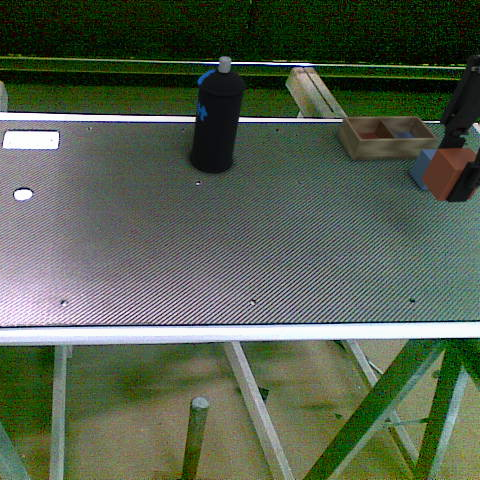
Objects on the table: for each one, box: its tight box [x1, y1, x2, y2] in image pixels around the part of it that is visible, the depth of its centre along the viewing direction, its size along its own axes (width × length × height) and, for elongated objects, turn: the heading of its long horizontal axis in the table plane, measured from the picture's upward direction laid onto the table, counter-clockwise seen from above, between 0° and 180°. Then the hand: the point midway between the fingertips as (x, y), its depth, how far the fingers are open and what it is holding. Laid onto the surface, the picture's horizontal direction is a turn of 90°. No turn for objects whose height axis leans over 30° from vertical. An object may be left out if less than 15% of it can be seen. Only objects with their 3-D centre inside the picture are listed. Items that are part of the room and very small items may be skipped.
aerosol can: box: [189, 55, 247, 174], centre depth 84 cm, size 8×8×20 cm
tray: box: [336, 115, 440, 161], centre depth 95 cm, size 16×9×4 cm, turn 95°
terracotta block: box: [421, 147, 479, 202], centre depth 68 cm, size 5×5×6 cm
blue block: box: [409, 148, 438, 191], centre depth 87 cm, size 5×5×6 cm
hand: (445, 187), depth 69 cm, fingers closed on terracotta block, 5 cm apart
